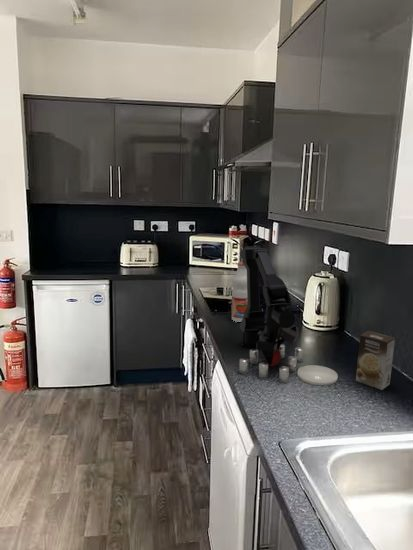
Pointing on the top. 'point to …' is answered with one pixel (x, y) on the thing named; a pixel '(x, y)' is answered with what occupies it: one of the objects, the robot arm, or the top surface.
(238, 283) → the fruit juice
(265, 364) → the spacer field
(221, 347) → the top surface
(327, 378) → the plate
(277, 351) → the onion
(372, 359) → the coffee box
